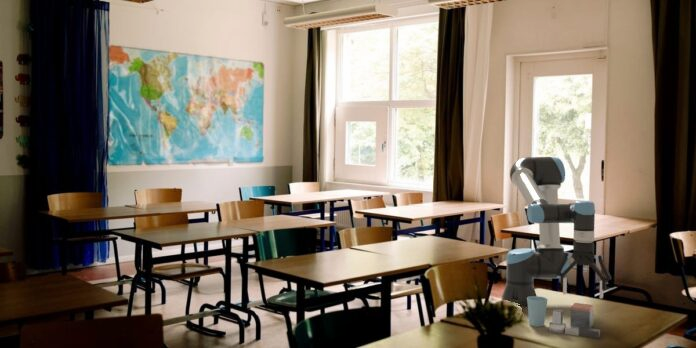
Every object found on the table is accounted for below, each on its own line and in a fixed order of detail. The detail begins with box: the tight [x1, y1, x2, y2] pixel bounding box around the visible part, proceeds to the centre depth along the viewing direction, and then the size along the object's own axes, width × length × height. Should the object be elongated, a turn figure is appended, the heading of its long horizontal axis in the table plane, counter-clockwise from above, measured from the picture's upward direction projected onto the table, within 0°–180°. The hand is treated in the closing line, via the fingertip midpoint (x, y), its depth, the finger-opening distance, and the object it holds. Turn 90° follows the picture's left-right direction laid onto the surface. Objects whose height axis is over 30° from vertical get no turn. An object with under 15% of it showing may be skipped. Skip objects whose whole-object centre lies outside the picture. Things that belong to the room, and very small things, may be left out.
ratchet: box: [548, 308, 601, 340], centre depth 253 cm, size 18×6×8 cm, turn 59°
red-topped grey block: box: [570, 302, 594, 329], centre depth 263 cm, size 7×7×8 cm
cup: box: [527, 295, 548, 328], centre depth 265 cm, size 8×8×10 cm
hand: (582, 295), depth 262 cm, fingers open, 13 cm apart
